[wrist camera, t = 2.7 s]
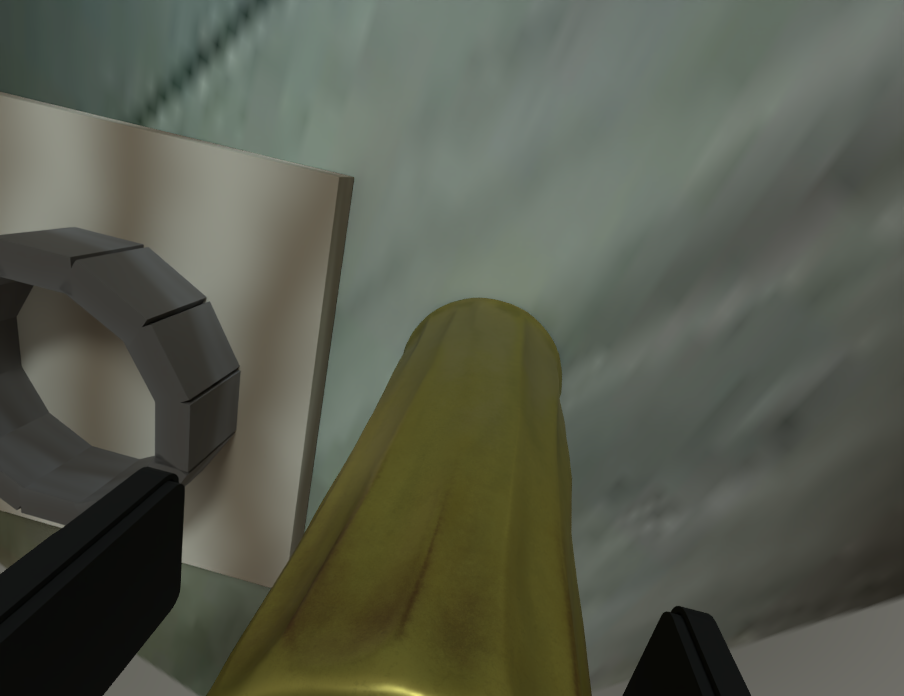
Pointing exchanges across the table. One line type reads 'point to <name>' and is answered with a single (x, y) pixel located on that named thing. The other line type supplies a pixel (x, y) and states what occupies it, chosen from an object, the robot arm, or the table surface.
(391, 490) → the vase
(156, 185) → the plate
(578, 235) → the table surface
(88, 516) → the robot arm
